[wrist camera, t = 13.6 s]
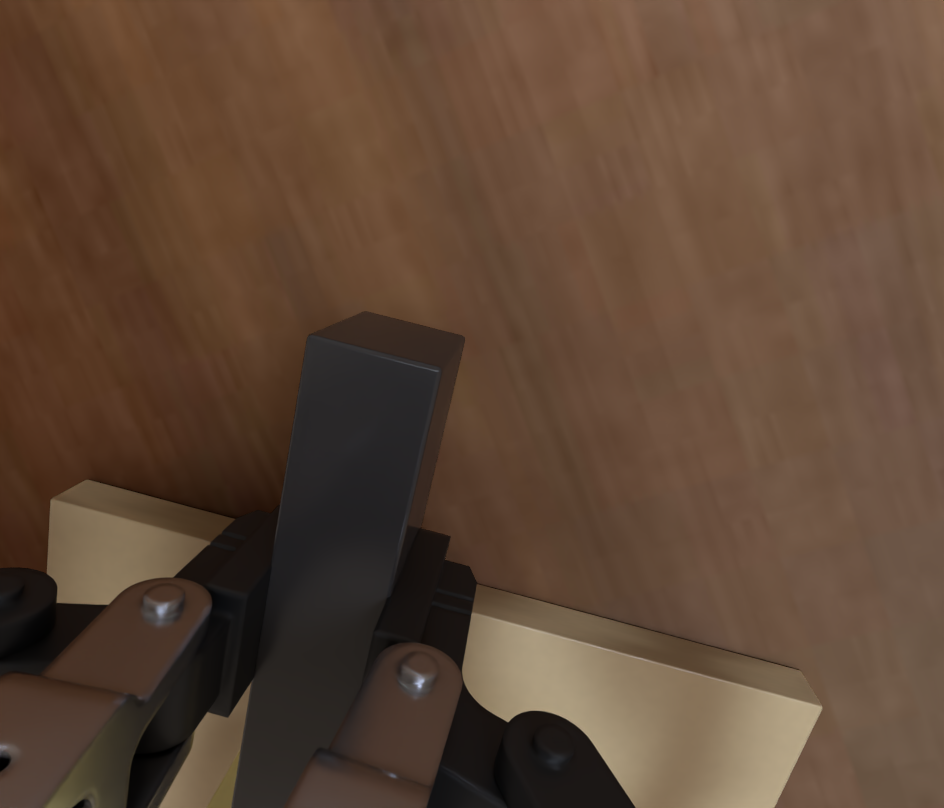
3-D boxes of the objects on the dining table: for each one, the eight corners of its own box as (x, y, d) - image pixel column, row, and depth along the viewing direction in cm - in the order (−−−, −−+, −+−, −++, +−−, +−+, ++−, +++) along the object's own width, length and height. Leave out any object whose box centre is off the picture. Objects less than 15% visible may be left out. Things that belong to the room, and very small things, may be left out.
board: (63, 823, 23) (31, 862, 21) (87, 478, 19) (49, 498, 17) (651, 992, 22) (659, 1045, 20) (801, 670, 18) (823, 707, 17)
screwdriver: (363, 310, 12) (306, 333, 9) (466, 335, 12) (442, 368, 9) (232, 1015, 17) (170, 1172, 14) (301, 1035, 17) (253, 1197, 14)
